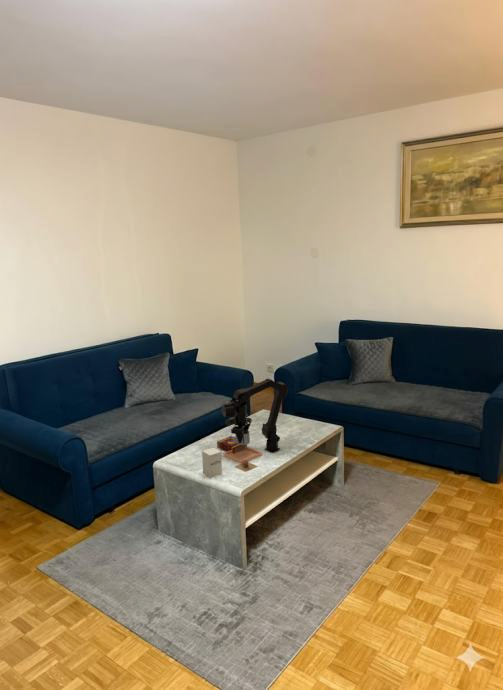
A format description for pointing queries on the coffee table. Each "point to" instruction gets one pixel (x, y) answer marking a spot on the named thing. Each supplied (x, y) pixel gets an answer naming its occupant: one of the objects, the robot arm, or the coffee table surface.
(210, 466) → the supplement box
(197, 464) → the coffee table surface
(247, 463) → the square plate with peg
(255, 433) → the coffee table surface
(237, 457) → the tray
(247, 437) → the grey tankard
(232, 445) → the decorative book
